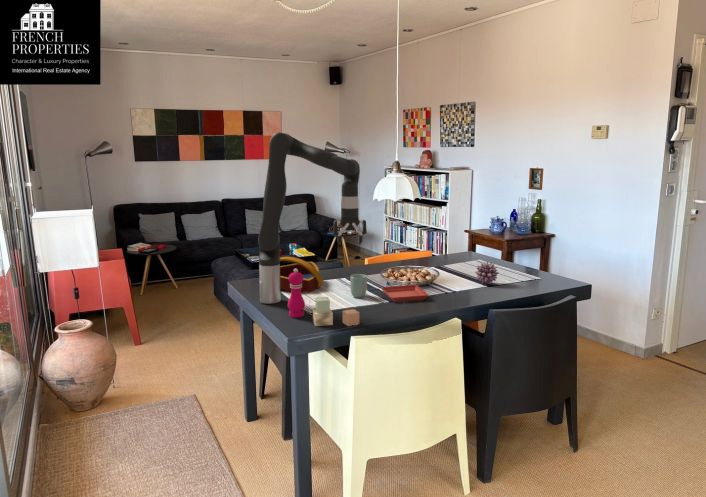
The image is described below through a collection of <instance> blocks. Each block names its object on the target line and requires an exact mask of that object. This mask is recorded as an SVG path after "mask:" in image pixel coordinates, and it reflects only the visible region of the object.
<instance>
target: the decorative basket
mask: <svg viewBox="0 0 706 497" xmlns="http://www.w3.org/2000/svg"><path fill="white" fill-rule="evenodd" d="M280 262H290V263H291V264H287V265H280V290H284V291H287V292H291V288H290V284H291V283H290V282H289V275H290V274H291V273H293V272H294V269H298V272H299V273H301V274H302V275H303V281H302V287H301V293H311V292H313V291H315V290H316V289H319V288H321V287H322V286H323V285H324V282H323V278H322V276H321V274H320V268H319V267H318V265H317V264H316V263H314V262H313V261H306V260H303V259H301V258H297V257H294V256H282V257H281V256H280Z"/></svg>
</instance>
